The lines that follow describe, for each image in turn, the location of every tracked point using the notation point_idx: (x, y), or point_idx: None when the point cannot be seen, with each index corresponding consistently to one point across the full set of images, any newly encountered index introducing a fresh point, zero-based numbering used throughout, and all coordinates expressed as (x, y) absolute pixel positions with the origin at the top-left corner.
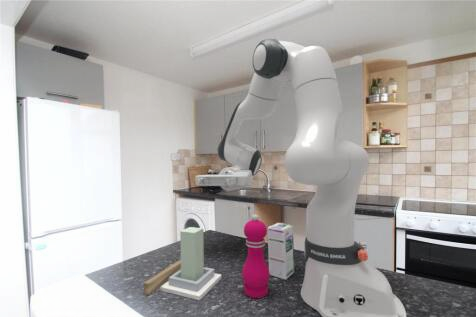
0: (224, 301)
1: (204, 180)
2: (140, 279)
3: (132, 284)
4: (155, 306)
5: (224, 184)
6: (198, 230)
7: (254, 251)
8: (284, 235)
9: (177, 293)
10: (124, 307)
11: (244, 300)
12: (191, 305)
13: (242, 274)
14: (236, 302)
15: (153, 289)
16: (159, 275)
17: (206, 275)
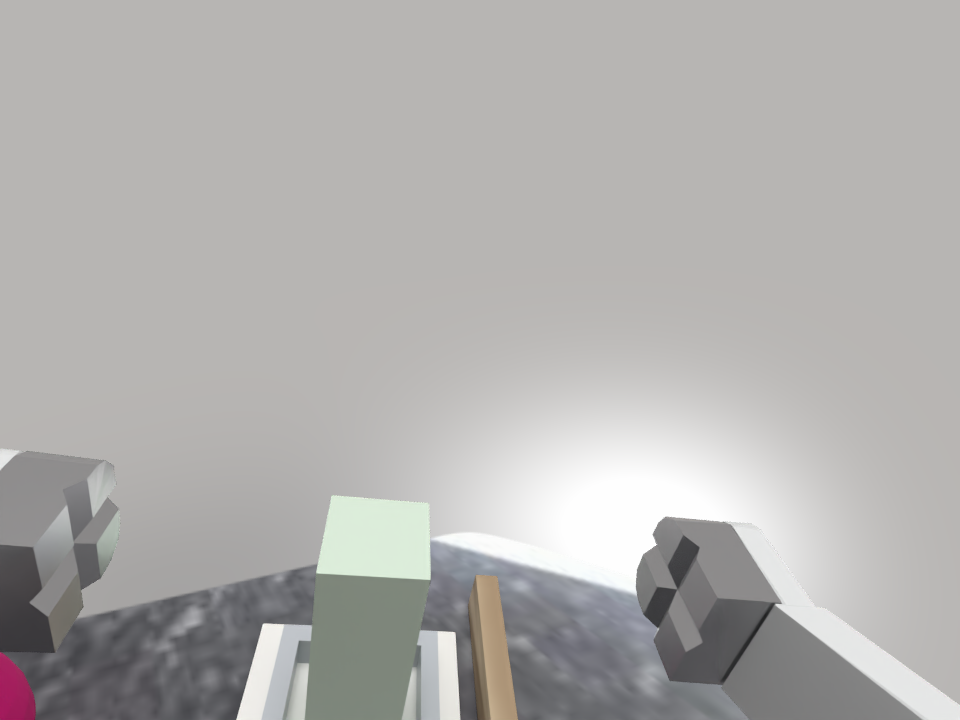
0: (150, 660)
1: (692, 612)
2: (600, 686)
3: (588, 644)
4: None
5: (109, 559)
6: (329, 532)
7: None
8: None
9: None
10: (483, 544)
11: (44, 695)
12: (283, 603)
13: (31, 692)
14: (89, 670)
15: (472, 621)
16: (488, 635)
17: (268, 707)
